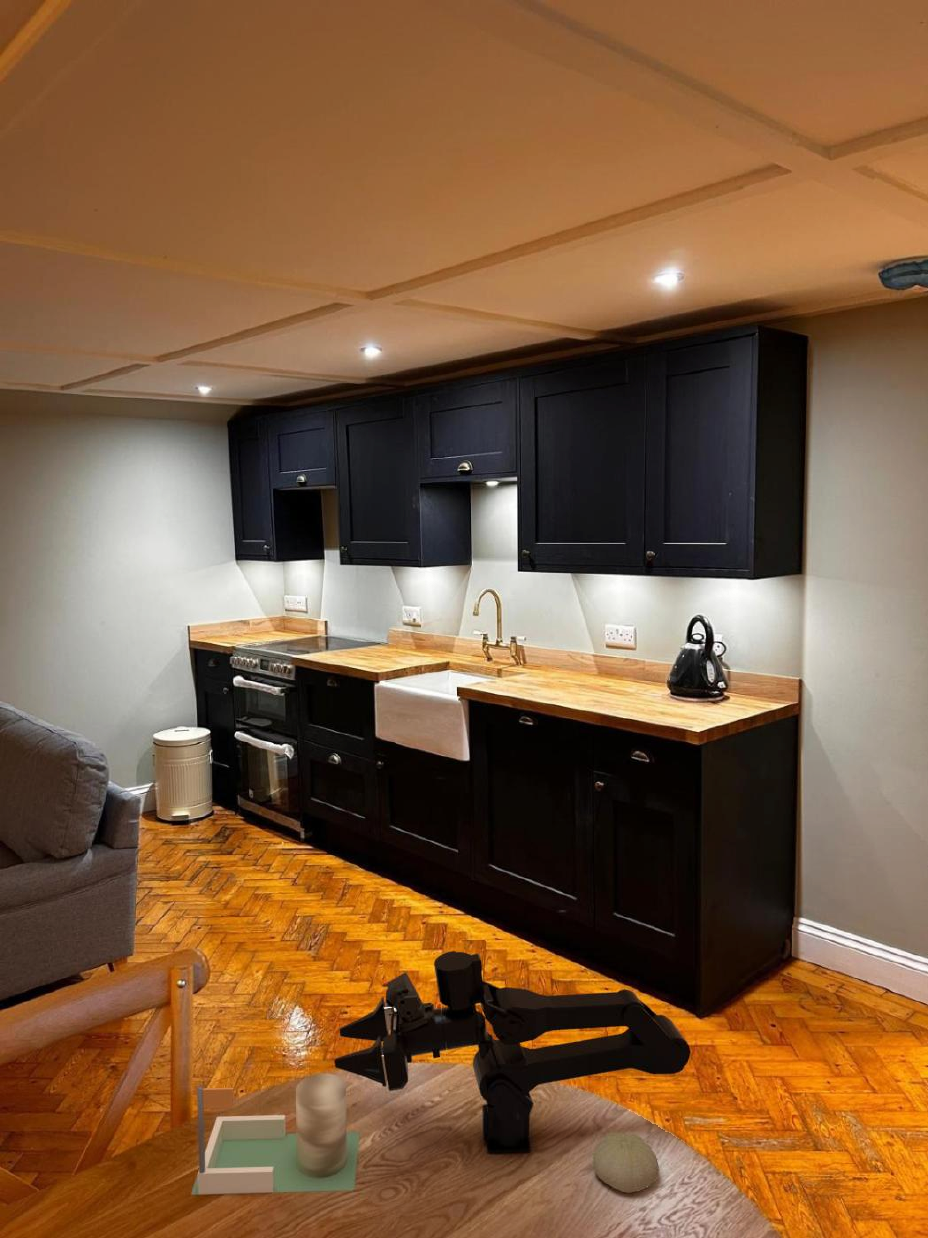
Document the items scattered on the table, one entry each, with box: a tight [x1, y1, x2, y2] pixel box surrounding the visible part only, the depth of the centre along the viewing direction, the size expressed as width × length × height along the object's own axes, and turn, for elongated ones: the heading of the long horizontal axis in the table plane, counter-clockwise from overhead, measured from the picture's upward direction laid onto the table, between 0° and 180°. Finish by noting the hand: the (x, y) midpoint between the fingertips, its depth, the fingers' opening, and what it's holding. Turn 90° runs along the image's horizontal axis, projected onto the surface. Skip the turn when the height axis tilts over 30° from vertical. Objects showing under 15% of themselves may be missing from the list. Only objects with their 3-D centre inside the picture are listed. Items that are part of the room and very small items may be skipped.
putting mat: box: [190, 1131, 361, 1196], centre depth 132 cm, size 22×12×1 cm, turn 93°
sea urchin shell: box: [592, 1131, 660, 1194], centre depth 131 cm, size 9×8×8 cm
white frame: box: [196, 1085, 287, 1195], centre depth 130 cm, size 10×12×15 cm
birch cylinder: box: [295, 1073, 347, 1178], centre depth 131 cm, size 7×7×11 cm
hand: (337, 1047), depth 134 cm, fingers open, 9 cm apart
